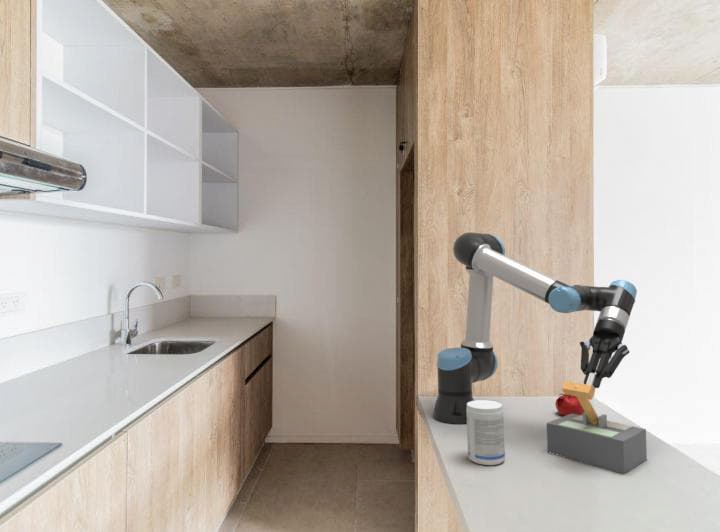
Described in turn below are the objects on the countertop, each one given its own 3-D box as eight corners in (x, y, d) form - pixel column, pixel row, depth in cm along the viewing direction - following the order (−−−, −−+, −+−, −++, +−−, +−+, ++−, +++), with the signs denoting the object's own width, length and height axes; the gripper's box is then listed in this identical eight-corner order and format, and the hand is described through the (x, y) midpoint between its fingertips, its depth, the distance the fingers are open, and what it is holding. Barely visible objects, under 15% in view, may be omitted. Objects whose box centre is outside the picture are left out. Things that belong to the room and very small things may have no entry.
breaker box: (547, 452, 132) (546, 411, 132) (572, 440, 141) (571, 402, 141) (624, 474, 116) (622, 428, 117) (646, 459, 125) (645, 416, 125)
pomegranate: (588, 413, 168) (587, 387, 168) (584, 421, 160) (583, 393, 160) (558, 410, 173) (557, 384, 174) (553, 416, 165) (552, 389, 165)
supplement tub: (512, 461, 126) (511, 405, 126) (487, 469, 120) (486, 411, 121) (484, 450, 134) (483, 397, 134) (460, 457, 129) (458, 403, 129)
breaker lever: (581, 423, 131) (561, 387, 125) (584, 416, 132) (564, 380, 126) (608, 429, 126) (588, 392, 120) (611, 422, 127) (591, 384, 121)
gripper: (639, 336, 133) (618, 408, 122) (592, 333, 143) (568, 400, 132) (630, 318, 130) (607, 392, 119) (583, 317, 140) (558, 384, 129)
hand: (587, 396), depth 126 cm, fingers closed
